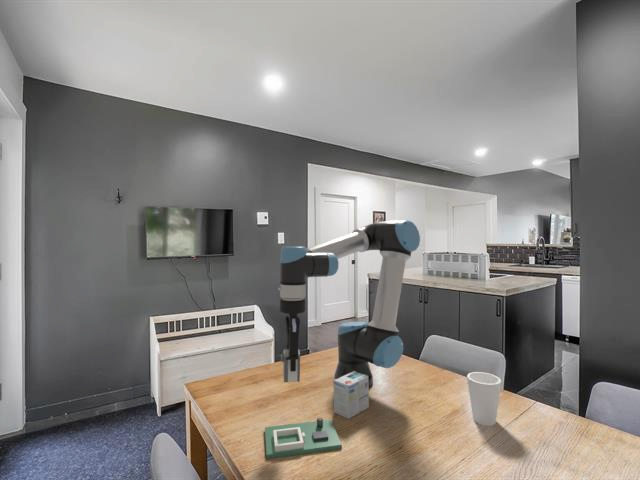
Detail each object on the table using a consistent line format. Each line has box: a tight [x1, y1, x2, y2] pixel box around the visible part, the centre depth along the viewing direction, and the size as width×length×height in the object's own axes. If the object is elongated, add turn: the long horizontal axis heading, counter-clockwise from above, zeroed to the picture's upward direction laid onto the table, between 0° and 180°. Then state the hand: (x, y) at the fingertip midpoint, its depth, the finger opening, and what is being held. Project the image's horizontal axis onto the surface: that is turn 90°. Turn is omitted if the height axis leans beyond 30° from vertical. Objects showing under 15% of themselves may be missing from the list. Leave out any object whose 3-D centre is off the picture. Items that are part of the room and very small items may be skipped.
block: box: [280, 348, 301, 383], centre depth 99 cm, size 5×4×8 cm
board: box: [264, 417, 342, 460], centre depth 95 cm, size 20×13×3 cm, turn 101°
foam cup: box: [466, 371, 502, 427], centre depth 104 cm, size 10×9×13 cm
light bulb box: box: [333, 371, 370, 420], centre depth 111 cm, size 11×7×11 cm, turn 134°
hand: (291, 377), depth 99 cm, fingers closed on block, 4 cm apart
